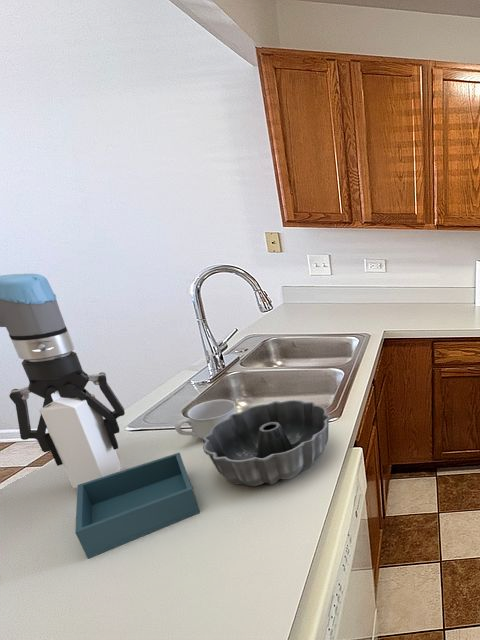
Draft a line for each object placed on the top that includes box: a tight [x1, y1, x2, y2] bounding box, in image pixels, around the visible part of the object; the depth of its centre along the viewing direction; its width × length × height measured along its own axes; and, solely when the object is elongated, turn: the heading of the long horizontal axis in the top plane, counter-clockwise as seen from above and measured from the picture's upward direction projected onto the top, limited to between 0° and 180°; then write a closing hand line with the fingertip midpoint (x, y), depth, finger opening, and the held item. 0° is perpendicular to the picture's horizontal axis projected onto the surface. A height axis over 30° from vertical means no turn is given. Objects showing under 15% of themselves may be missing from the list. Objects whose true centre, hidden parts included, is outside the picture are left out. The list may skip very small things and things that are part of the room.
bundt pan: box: [202, 399, 331, 487], centre depth 94 cm, size 26×26×10 cm
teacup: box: [174, 398, 238, 440], centre depth 104 cm, size 14×11×8 cm
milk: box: [38, 391, 123, 489], centre depth 83 cm, size 6×6×22 cm
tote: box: [74, 452, 201, 559], centre depth 79 cm, size 17×17×6 cm
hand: (88, 454), depth 85 cm, fingers closed on milk, 8 cm apart
